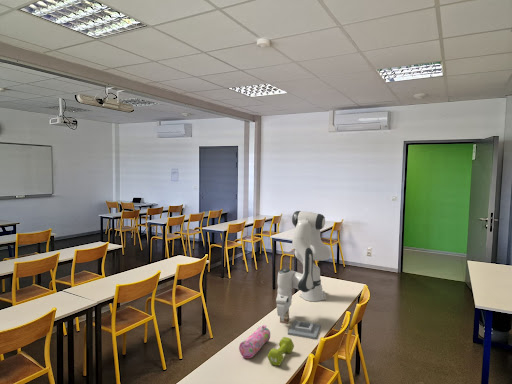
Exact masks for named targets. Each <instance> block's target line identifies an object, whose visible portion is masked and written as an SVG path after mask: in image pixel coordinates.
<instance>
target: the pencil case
mask: <svg viewBox="0 0 512 384" xmlns="http://www.w3.org/2000/svg"><path fill="white" fill-rule="evenodd" d="M270 339H271V330H270V329H269V328H267V325H265V324H264V325H263V324H262V325H261V326H258V327H257V329H256V330H255V331H254V332H253V333H252V334H251V335H249V336H248V337H247V338H246V339H244V340H243V341H241V342H240V343H239V347H238V349H239V352H240V355H241V356H242V357H243V358H244V359H252V358H253V357H254V356H255V355H256V354H257V353H258V352H259V351H260V350H261V348H262V347H264V345H265V343H267V342H269V341H270Z"/></svg>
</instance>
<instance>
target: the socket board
mask: <svg viewBox="0 0 512 384" xmlns="http://www.w3.org/2000/svg"><path fill="white" fill-rule="evenodd" d="M321 325H322V324H319V323H314V322H312V321H304V320H294V321H293V322H292V324H291V325H290V328H289V329H288V331H287V335H289V336H295V337H299V338H300V337H301V338H306V339H312V340H316V339H317V338H318V335H319V332H320V330H321Z"/></svg>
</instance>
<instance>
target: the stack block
mask: <svg viewBox="0 0 512 384" xmlns="http://www.w3.org/2000/svg"><path fill="white" fill-rule="evenodd" d="M284 318H285V320H284V321H281V317H280V316H279V323H281V324H286V325H287V324H288V323H290V310H289V311H287V312H286V313H285V315H284Z"/></svg>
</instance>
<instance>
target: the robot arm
mask: <svg viewBox="0 0 512 384" xmlns="http://www.w3.org/2000/svg"><path fill="white" fill-rule="evenodd" d="M291 222H292V224H293V226H294V231H293V234H292V235H293V237H292V243H291V244H292V248H293V249H294V251H293V252H294V256H295V258H296V259H297V260H299V261H300V263H301V264H302V273H301V272H298V271H294V270H291V269H290V268H288V267H283V268H281V269H279V270H278V273H277V282H276V283H277V295H276V299H275V302H276V313H277V314H276V315H277V316H278V317H279V318H280V317H281V321H284V320H285V318H284V315H285V313H286V312H287V311H289V312H290V307H291V306H292V299H293V290H292V289H293V288H294V289H297V290H299V291H301V294H299V297H300V298H302V299H303V300H305V301H308V302H320V301H325V300H326V299H327V298H326V292H325V290H323V285H322V279H321V268H320V267H319V266H318V265H316V264H315V263H314V261H319V262H320V261H322V262H323V261H327V260H329V259H330V257H331V255H332V253H331V250H330V248H329V246H328V245H326V244H325V243H324V242H323V241H322V238H321V237H322V236H321V230H322V229H324V227H325V225H326V217H325V215H323V214H321V213H317V212H316V213H315V212H312V211H301V210H296V211H294V213H293V214H292V216H291Z"/></svg>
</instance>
